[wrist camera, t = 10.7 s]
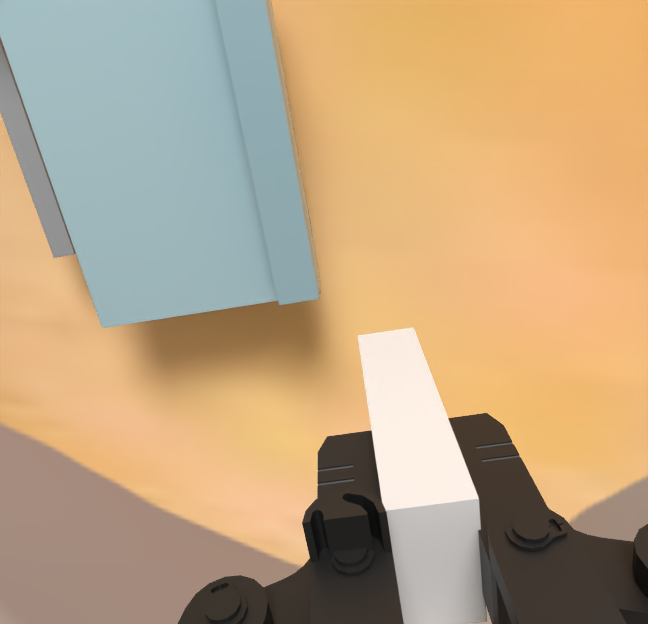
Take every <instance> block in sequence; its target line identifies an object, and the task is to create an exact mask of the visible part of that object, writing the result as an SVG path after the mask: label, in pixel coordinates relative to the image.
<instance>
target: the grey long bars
mask: <svg viewBox="0 0 648 624" xmlns="http://www.w3.org/2000/svg"><path fill="white" fill-rule="evenodd" d="M0 112H1V115H2V118H3V120H4V123H5V126H6V129H7V131H8V134H9V137H10V139H11V142H12V145H13V148H14V150H15V153H16V156H17V159H18V161H19V164H20V167H21V169H22V172H23V175H24V178H25V180H26V183H27V186H28V188H29V191H30V194H31V197H32V199H33V202H34V205H35V208H36V210H37V213H38V216H39V218H40V221H41V224H42V227H43V229H44V232H45V235H46V238H47V240H48V243H49V246H50V248H51V251H52V254H53V257H54V258H55V257H61V256H67V255H73V254H76V252H75V249H74V246H73V243H72V240H71V237H70V234H69V232H68V229H67V226H66V223H65V220H64V217H63V214H62V212H61V209H60V206H59V203H58V200H57V197H56V194H55V192H54V189H53V186H52V183H51V180H50V177H49V174H48V171H47V169H46V166H45V163H44V160H43V157H42V154H41V151H40V149H39V146H38V143H37V140H36V137H35V134H34V131H33V129H32V126H31V123H30V120H29V117H28V114H27V111H26V109H25V106H24V103H23V100H22V97H21V94H20V91H19V88H18V86H17V83H16V80H15V77H14V74H13V71H12V68H11V66H10V63H9V60H8V57H7V54H6V51H5V48H4V46H3V43H2V40H1V37H0Z"/></svg>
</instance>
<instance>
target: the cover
mask: <svg viewBox="0 0 648 624" xmlns="http://www.w3.org/2000/svg"><path fill="white" fill-rule="evenodd" d="M0 37H1V40H2V43H3V46H4V48H5V51H6V54H7V57H8V60H9V63H10V66H11V68H12V71H13V74H14V77H15V80H16V83H17V86H18V88H19V91H20V94H21V97H22V100H23V103H24V106H25V109H26V111H27V114H28V117H29V120H30V123H31V126H32V129H33V131H34V134H35V137H36V140H37V143H38V146H39V149H40V151H41V154H42V157H43V160H44V163H45V166H46V169H47V171H48V174H49V177H50V180H51V183H52V186H53V189H54V192H55V194H56V197H57V200H58V203H59V206H60V209H61V212H62V214H63V217H64V220H65V223H66V226H67V229H68V232H69V234H70V237H71V240H72V243H73V246H74V249H75V252H76V254H77V257H78V260H79V263H80V266H81V269H82V272H83V275H84V277H85V280H86V283H87V286H88V289H89V292H90V295H91V297H92V300H93V303H94V306H95V309H96V312H97V315H98V317H99V320H100V323H101V326H102V328H106V327H112V326H119V325H125V324H132V323H138V322H144V321H151V320H157V319H164V318H170V317H177V316H183V315H189V314H196V313H202V312H209V311H215V310H221V309H228V308H234V307H241V306H247V305H254V304H260V303H266V302H273V301H278V302H279V305H284V304H291V303H297V302H303V301H310V300H316V299H319V294H320V276H319V271H318V265H317V259H316V254H315V248H314V242H313V237H312V231H311V225H310V219H309V214H308V208H307V202H306V197H305V191H304V185H303V180H302V174H301V168H300V163H299V157H298V151H297V145H296V140H295V134H294V128H293V123H292V117H291V111H290V106H289V100H288V94H287V89H286V83H285V77H284V71H283V66H282V60H281V54H280V49H279V43H278V37H277V32H276V26H275V20H274V14H273V9H272V3H271V0H0Z"/></svg>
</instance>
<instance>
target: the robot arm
mask: <svg viewBox="0 0 648 624" xmlns="http://www.w3.org/2000/svg"><path fill="white" fill-rule="evenodd" d="M358 342H359V348H360V355H361V362H362V369H363V376H364V382H365V389H366V396H367V403H368V410H369V416H370V423H371V430H372V431H364V432H357V433H350V434H343V435H335V436H328V437H327V438H326V440H325V441H324V443H323V445H322V446H321V448H320V450H319V451H318V499H316V500H315V501H314V502H313V503H312V504H311V505H310V507H309V508H308V509H307V510H306V512H305V515H304V519H303V522H302V524H303V528H304V533H305V537H306V542H307V546H308V551H309V555H310V559H309V560H308V561H307V563H306V564H305V565H304V566H303V567H302V568H300V569H299V570H298V571H297V572H296V573H294V574H292V575H291V576H289V577H287V578H285V579H283V580H281V581H278V582H276V583H273V584H271V585H269V586H266V587H264V588H263V587H262V586H261V585H260V584H259V583H258V582H257V581H255V580H254V579H251V578H248V577H244V576H230V577H224V578H221V579H219V580H216V581H214V582H212V583H209V584H208V585H207V586H205V587H204V588H203V589H202V590H200V591H199V592H198V593H197V594H195V596H194V597H193V599H192V600H191V602H190V603H189V604H188V606H187V607H186V608H185V610H184V612H183V614H182V616H181V618H180V620H179V622H178V624H469V623H478V622H486V621H487V613H486V606H487V609H488V612H489V615H490V618H491V622H492V624H648V524H647V525H645V526H644V527H642V528H641V529H639V531H638V533H637V535H636V537H635V539H634V542H631V541H623V540H615V539H607V538H600V537H596V536H591V535H587V534H584V533H581V532H578V531H576V530H574V529H573V528H572V527H571V526H570V525H569V523H568V522H567V521H566V520H565V519H564V518H563V517H562V516H560V515H558V514H556V513H555V512H553V511H551V510H550V509H549V508H548V507H547V505H546V503H545V502H544V500H543V498H542V496H541V494H540V492H539V490H538V489H537V487H536V485H535V483H534V481H533V479H532V477H531V476H530V474H529V472H528V470H527V468H526V466H525V464H524V462H523V461H522V459H521V458H520V457H519V453H518V451H517V449H516V448H515V446H514V444H512V440H511V438H510V436H509V435H508V433H507V431H506V429H505V427H504V425H502V424H501V423H500V422H498V421H497V420H496V419H494V418H493V417H491V416H490V415H489V414H487V413H483V414H476V415H469V416H462V417H454V418H448V417H447V414H446V411H445V409H444V406H443V403H442V401H441V398H440V396H439V393H438V390H437V388H436V385H435V383H434V380H433V377H432V375H431V372H430V369H429V367H428V364H427V362H426V359H425V356H424V354H423V351H422V349H421V346H420V343H419V341H418V338H417V335H416V333H415V330H414V328H406V329H399V330H392V331H386V332H379V333H372V334H365V335H358Z"/></svg>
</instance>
